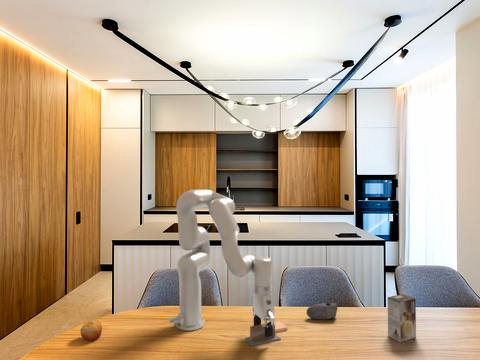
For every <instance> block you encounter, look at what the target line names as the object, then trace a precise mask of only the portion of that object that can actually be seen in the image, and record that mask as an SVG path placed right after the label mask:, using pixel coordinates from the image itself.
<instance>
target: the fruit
mask: <svg viewBox="0 0 480 360" xmlns="http://www.w3.org/2000/svg"><path fill="white" fill-rule="evenodd" d="M102 330H103V325H102V323H101V321H100V320H97V319H91V320H88V321H86V322H85V323H84V324H83V325H82V326H81V328H80V336H81V337H82V339H83V340H84V341H93V342H94V341H96V340H98V339H99V338H101V335H102Z"/></svg>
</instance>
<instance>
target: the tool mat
mask: <svg viewBox="0 0 480 360" xmlns="http://www.w3.org/2000/svg"><path fill="white" fill-rule="evenodd" d="M244 340H245V341H246V343H248V344H249V346H251V347H256V346H260V345H264V344H267V343H271V342H272V343H273V342H277V341H281V337H280V336H279V335H278V334H276V333H275V337H273V338H268V339H264V340H259V341H255V342H252V340H251V339H250V336H248V337H245V338H244Z"/></svg>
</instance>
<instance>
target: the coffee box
mask: <svg viewBox="0 0 480 360" xmlns="http://www.w3.org/2000/svg"><path fill="white" fill-rule="evenodd" d="M416 300H417V299H416V298H415V297H412V296H410V295H407V294H403V293H402V294H401V293H400V294H397V295H396V294H395V295H392V296H388V297H387V336H388V337H390V338H391V339H393V340H396V341H397V342H400V343H402V342H406V341H409V340H412V339H415V338H417V321H416V320H417V316H416V314H417V313H416V311H417V310H416V309H417V306H416V304H417V302H416Z"/></svg>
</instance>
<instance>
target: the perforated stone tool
mask: <svg viewBox="0 0 480 360" xmlns="http://www.w3.org/2000/svg"><path fill="white" fill-rule="evenodd" d="M337 312H338V304H337V303H336V302H323V303H322V302H321V303H317V304H313V305H311V306H309V307H308V308H307V309H306V315H307V317H308V318H310V319H313V320H330V319H336V316H337Z"/></svg>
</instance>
